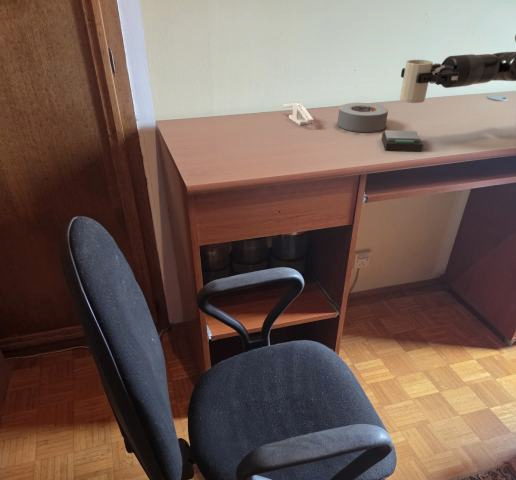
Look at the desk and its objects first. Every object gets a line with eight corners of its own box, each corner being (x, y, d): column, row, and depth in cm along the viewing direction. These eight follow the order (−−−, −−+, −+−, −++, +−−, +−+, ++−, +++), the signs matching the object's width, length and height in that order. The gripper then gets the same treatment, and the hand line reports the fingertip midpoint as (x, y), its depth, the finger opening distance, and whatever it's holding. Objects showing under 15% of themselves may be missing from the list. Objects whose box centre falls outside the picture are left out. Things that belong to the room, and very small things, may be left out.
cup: (422, 97, 126) (430, 59, 120) (426, 103, 121) (434, 64, 115) (398, 96, 127) (404, 59, 121) (401, 102, 122) (408, 64, 116)
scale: (415, 140, 134) (417, 130, 132) (421, 151, 126) (423, 141, 124) (381, 139, 134) (383, 129, 133) (385, 150, 127) (387, 140, 125)
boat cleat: (293, 112, 157) (294, 95, 154) (318, 128, 143) (319, 109, 140) (282, 113, 156) (283, 96, 153) (306, 129, 142) (308, 110, 139)
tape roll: (381, 119, 151) (384, 102, 147) (389, 133, 139) (392, 115, 136) (335, 118, 151) (337, 102, 148) (339, 132, 140) (341, 114, 137)
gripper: (448, 50, 126) (397, 54, 122) (484, 59, 116) (429, 64, 112) (441, 81, 131) (392, 85, 127) (474, 92, 121) (422, 97, 117)
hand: (409, 75), depth 119 cm, fingers closed on cup, 6 cm apart
